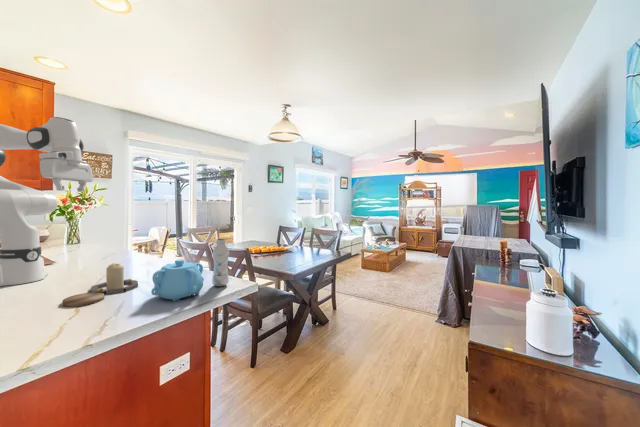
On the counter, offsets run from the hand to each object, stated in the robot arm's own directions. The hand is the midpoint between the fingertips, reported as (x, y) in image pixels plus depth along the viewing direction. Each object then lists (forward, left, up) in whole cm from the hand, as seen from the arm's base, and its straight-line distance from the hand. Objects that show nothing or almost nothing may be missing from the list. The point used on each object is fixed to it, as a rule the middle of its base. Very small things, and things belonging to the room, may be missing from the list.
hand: (71, 191), depth 110 cm
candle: (+21, -1, -39) cm, 44 cm away
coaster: (+23, -15, -39) cm, 48 cm away
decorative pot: (+51, -3, -39) cm, 64 cm away
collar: (+21, -1, -39) cm, 44 cm away
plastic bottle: (+60, +11, -39) cm, 73 cm away
